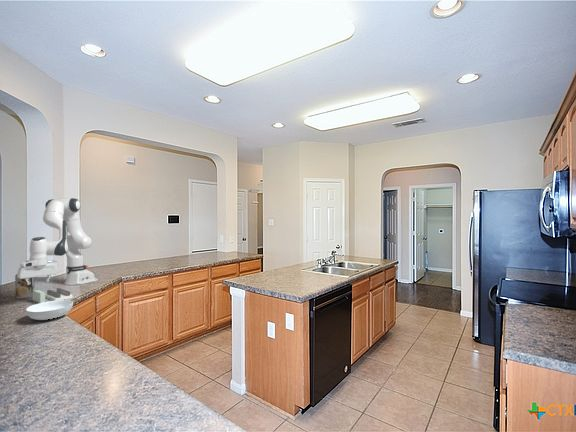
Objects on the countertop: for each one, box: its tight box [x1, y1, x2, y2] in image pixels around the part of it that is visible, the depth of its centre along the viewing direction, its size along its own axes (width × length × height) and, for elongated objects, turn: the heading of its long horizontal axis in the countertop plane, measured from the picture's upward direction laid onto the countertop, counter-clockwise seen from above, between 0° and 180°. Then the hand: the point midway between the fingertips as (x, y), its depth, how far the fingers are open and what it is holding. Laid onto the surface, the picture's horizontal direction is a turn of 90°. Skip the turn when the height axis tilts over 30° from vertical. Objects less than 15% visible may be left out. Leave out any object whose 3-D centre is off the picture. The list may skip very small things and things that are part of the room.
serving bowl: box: [25, 299, 74, 321], centre depth 167 cm, size 21×21×7 cm
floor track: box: [45, 287, 73, 301], centre depth 202 cm, size 10×17×4 cm, turn 58°
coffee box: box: [14, 274, 36, 300], centre depth 202 cm, size 9×6×16 cm
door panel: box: [32, 289, 46, 304], centre depth 192 cm, size 2×12×7 cm, turn 58°
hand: (38, 283), depth 192 cm, fingers open, 8 cm apart
